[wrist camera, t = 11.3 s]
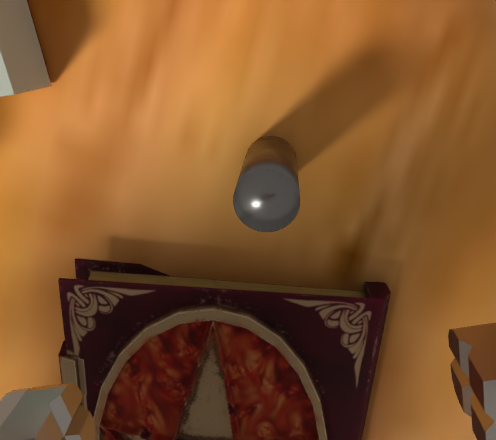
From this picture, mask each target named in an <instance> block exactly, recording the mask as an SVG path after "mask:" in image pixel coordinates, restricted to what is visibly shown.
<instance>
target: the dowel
mask: <svg viewBox="0 0 496 440" xmlns="http://www.w3.org/2000/svg"><path fill="white" fill-rule="evenodd" d="M233 204H234V209H235V211H236V214H237V216H238V217H239V219H240V220H241V221H242V222H243V223H244V224H245V225H247V226H248V227H250V228H252V229H254V230H257V231H261V232H273V231H277V230H280V229H282V228H284V227H286V226H287V225H288V224H290V223H291V222H292V221H293V219H294V218H295V217H296V215H297V213H298V210H299V206H300V194H299V184H298V173H297V162H296V155H295V152H294V150H293V148H292V147H291V145H290V144H289V143H287V142H286V141H285V140H283V139H281V138H278V137H273V136H269V137H263V138H261V139H259V140H257V141H255V142H254V143H253V144H252V145H251V146H250V148H249V149H248V151H247V154H246V157H245V160H244V163H243V166H242V170H241V173H240V176H239V179H238V182H237V185H236V189H235V192H234V197H233Z"/></svg>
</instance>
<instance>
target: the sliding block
mask: <svg viewBox="0 0 496 440" xmlns="http://www.w3.org/2000/svg"><path fill="white" fill-rule="evenodd" d="M48 86H51V82H50V79H49V76H48V72H47V69H46V65H45V62H44V58H43V55H42V51H41V48H40V44H39V41H38V37H37V34H36V31H35V27H34V24H33V20H32V17H31V13H30V10H29V6H28V3H27V0H0V97H1V96H8V95H14V94H19V93H23V92H27V91H31V90H36V89H40V88H44V87H48Z"/></svg>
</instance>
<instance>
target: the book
mask: <svg viewBox="0 0 496 440" xmlns="http://www.w3.org/2000/svg"><path fill="white" fill-rule="evenodd" d="M75 268H76V279H65V278H59V280H58V281H59V290H60V299H61V308H62V317H63V326H64V335H65V341H64V342H63V344H62V347H61V350H60V353H59V363H60V372H61V380H62V384H68V383H73V384H76V385H78V387H79V389H80V391H81V393H82V395H83V399H82V402H81V406H83V407H84V408H85V409H87V410H88V411H90V412H91V415H92V417H93V419H94V424H95V430H96V433H95V440H361V438H362V434H363V429H364V424H365V419H366V414H367V409H368V404H369V399H370V394H371V389H372V384H373V379H374V374H375V369H376V364H377V359H378V354H379V349H380V344H381V339H382V334H383V329H384V324H385V319H386V314H387V309H388V304H389V299H390V294H391V292H390V290H389V288H388V286H387V284H386V283H381V282H365V285H364V292H360V291H347V290H335V289H322V288H310V287H298V286H285V285H273V284H260V283H248V282H235V281H223V280H211V279H198V278H186V277H173V276H169V275H166V274H164V273H161V272H159V271H156V270H153V269H151V268H148V267H146V266H143V265H141V264H132V263H120V262H107V261H94V260H82V259H75Z"/></svg>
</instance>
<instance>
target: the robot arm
mask: <svg viewBox="0 0 496 440" xmlns="http://www.w3.org/2000/svg"><path fill="white" fill-rule="evenodd" d="M448 337H449V347H450V349H451V351H452V353H453V355H454V356H455V359H454V360H453V361H452V363H451V373H452V380H453V384H454V388H455V392H456V395H457V397H458V400H459V403H460V405H461V407H462V409H463V411H464V412H465V413H466V414H468V415H469V416H471V417H472V427H473V432H474V434H475V436H476V438H477V440H496V323H489V324H483V325H476V326H469V327H462V328H455V329H449V335H448ZM82 399H83V395H82V393H81V391H80V389H79V387H78V385H76V384H73V383H68V384H59V385H51V386H42V387H34V388H27V389H20V390H13V391H11V392H9V393H7V394H6V395H5V396H4V397H3V398H2V400H1V401H0V440H95V433H96V430H95V424H94V419H93V417H92V415H91V412H90V411H88V410H87V409H85V408H84V407H83V406H81V402H82Z"/></svg>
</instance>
